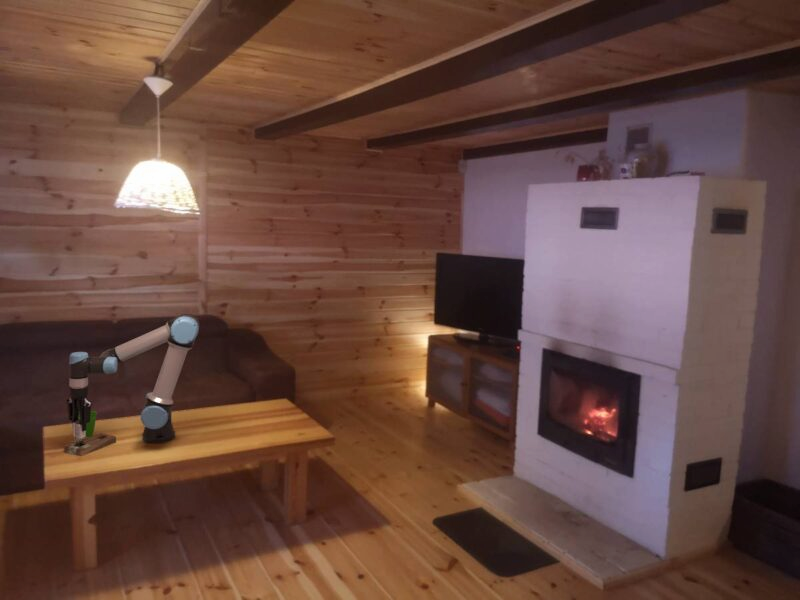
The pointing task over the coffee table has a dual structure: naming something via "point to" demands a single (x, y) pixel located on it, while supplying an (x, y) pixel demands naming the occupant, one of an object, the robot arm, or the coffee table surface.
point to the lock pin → (78, 440)
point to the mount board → (90, 444)
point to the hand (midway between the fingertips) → (79, 436)
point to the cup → (90, 424)
